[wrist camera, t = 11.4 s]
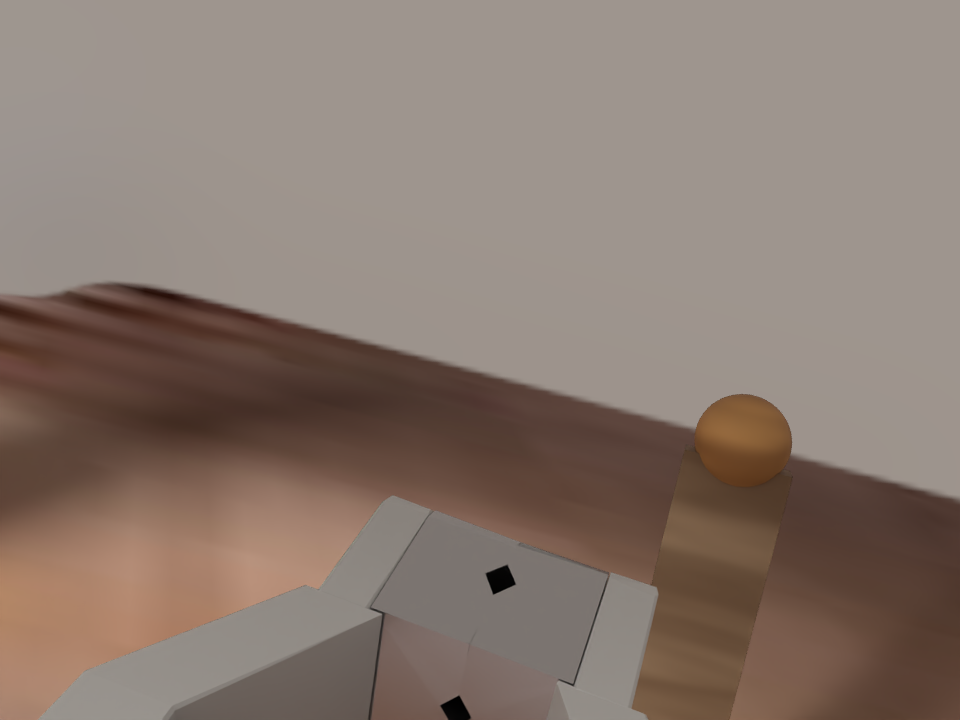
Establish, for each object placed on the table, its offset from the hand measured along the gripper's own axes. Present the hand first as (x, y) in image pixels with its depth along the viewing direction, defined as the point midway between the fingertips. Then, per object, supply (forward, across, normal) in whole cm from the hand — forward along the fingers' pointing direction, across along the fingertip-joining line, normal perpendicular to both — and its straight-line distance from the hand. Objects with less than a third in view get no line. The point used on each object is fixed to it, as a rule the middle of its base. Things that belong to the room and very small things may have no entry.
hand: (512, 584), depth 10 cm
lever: (+13, -5, +26) cm, 29 cm away
